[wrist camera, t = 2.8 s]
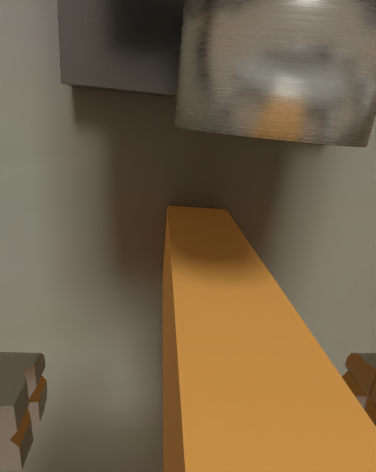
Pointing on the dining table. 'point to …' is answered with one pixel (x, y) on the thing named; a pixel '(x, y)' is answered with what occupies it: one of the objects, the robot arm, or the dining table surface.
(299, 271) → the dining table surface
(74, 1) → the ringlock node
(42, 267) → the dining table surface
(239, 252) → the orange rectangular bar
